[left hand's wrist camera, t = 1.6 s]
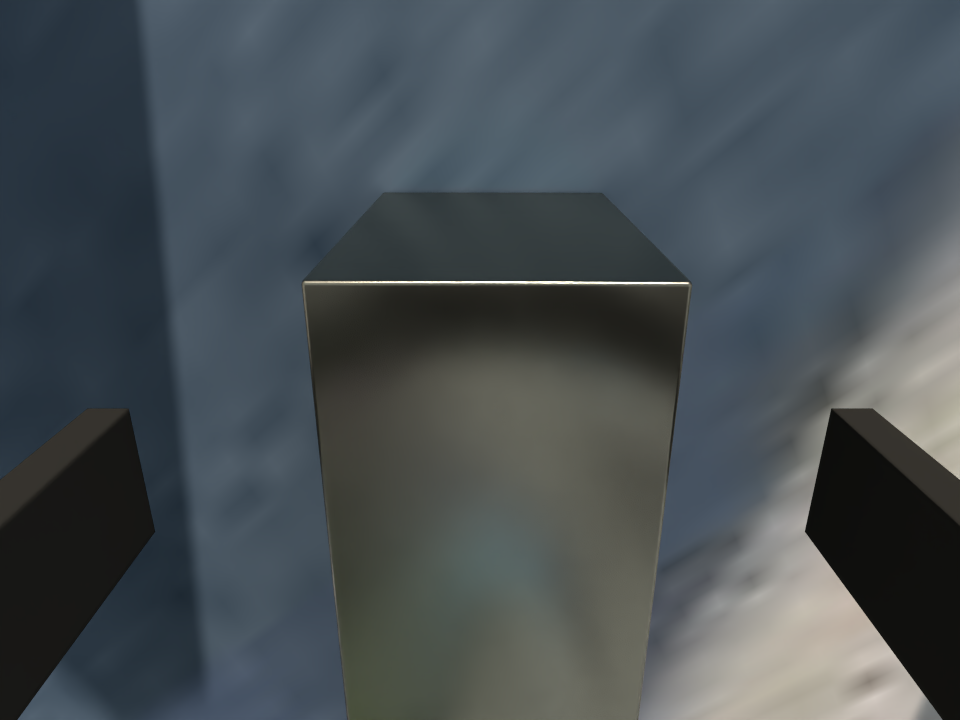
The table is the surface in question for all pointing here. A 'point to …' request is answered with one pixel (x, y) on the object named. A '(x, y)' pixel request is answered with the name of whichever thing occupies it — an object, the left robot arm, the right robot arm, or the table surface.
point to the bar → (494, 452)
